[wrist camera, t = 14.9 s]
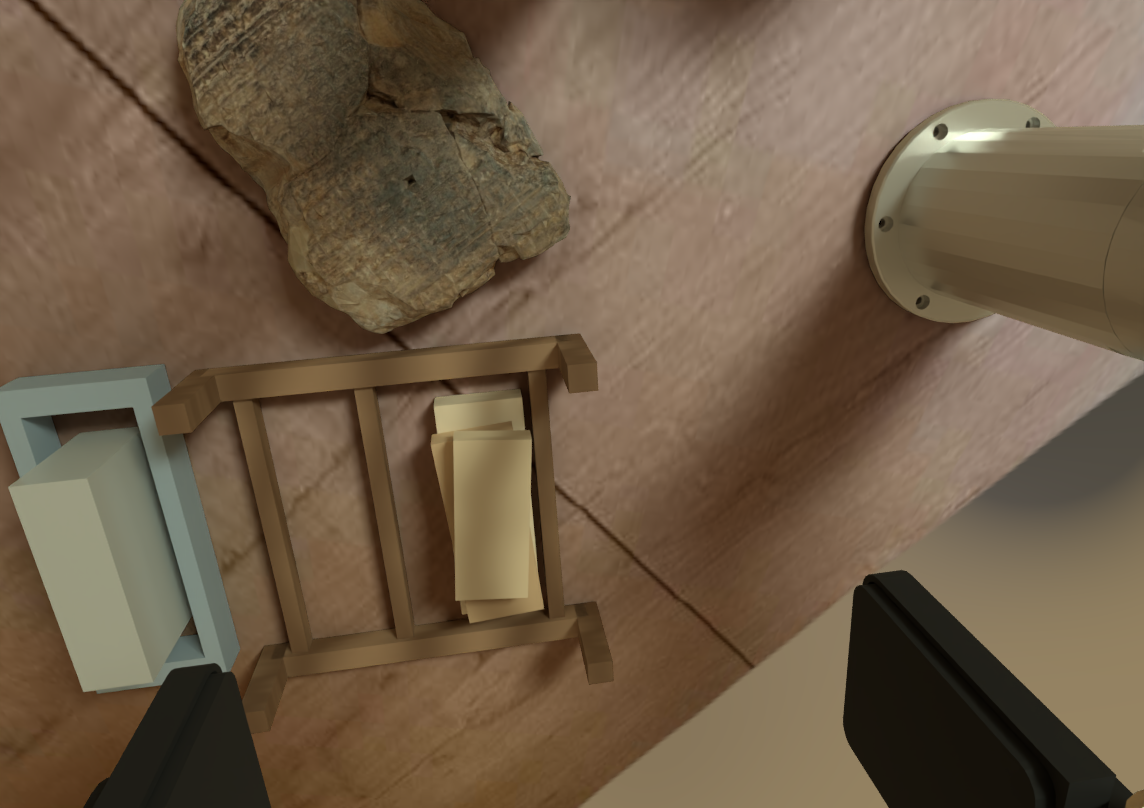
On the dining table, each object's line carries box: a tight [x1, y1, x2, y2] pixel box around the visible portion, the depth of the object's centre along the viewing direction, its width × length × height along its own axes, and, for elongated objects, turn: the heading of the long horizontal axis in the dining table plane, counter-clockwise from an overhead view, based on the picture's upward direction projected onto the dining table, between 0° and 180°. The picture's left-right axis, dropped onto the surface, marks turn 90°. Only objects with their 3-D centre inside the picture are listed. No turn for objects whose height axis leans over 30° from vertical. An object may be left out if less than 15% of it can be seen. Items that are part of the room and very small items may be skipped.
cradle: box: [0, 364, 240, 694], centre depth 42 cm, size 8×19×2 cm, turn 4°
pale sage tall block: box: [8, 427, 193, 692], centre depth 40 cm, size 4×12×7 cm, turn 4°
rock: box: [176, 0, 571, 334], centre depth 36 cm, size 14×5×20 cm
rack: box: [151, 334, 614, 734], centre depth 42 cm, size 22×20×6 cm
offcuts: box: [431, 389, 544, 623], centre depth 43 cm, size 6×14×4 cm, turn 4°
